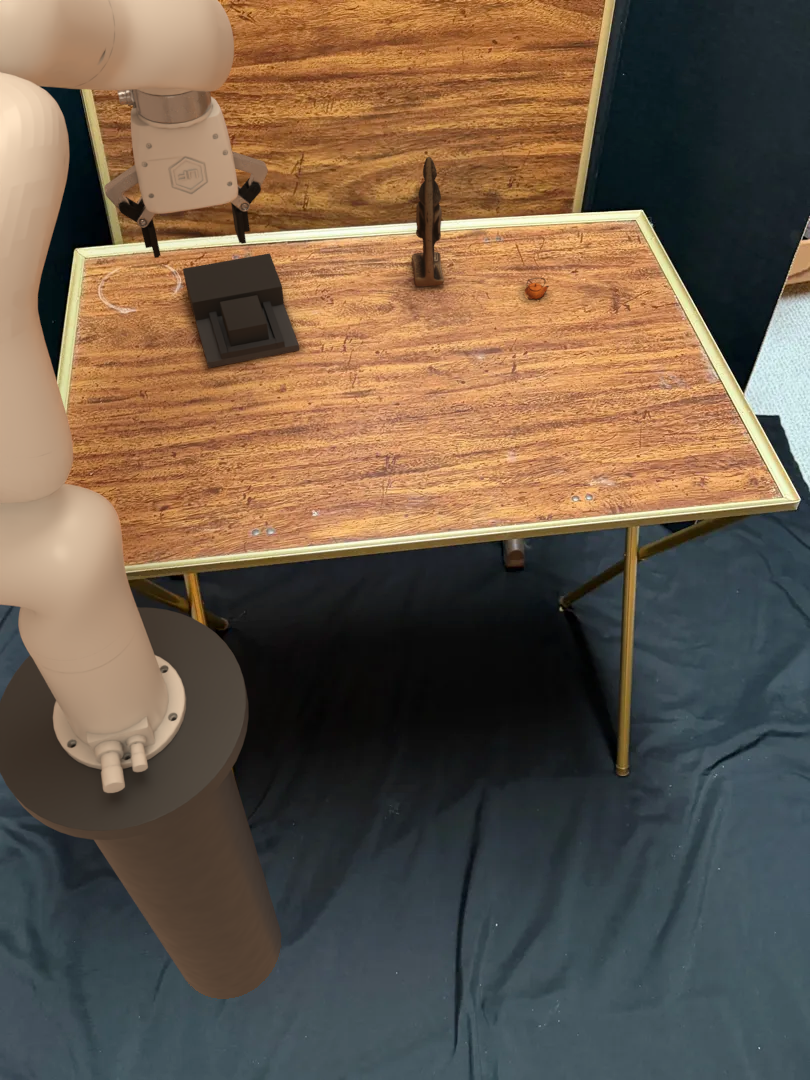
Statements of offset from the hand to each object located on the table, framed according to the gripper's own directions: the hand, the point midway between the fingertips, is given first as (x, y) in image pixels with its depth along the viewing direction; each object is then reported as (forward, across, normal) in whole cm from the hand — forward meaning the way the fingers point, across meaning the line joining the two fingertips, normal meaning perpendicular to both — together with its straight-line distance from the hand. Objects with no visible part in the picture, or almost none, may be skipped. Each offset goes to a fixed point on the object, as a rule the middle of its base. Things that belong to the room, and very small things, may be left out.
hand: (198, 243), depth 110 cm
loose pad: (+18, +4, +5) cm, 19 cm away
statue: (+19, +31, +11) cm, 38 cm away
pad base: (+19, +4, +9) cm, 21 cm away
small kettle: (+19, +44, +3) cm, 48 cm away
